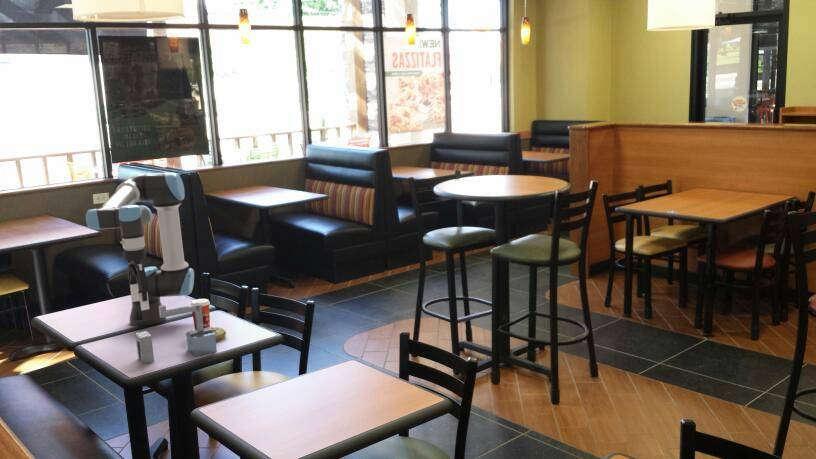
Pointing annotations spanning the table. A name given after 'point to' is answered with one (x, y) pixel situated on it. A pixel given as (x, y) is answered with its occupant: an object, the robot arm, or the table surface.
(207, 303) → the paper cup
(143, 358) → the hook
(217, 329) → the decorated donut
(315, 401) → the table surface
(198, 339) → the hook
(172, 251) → the robot arm
